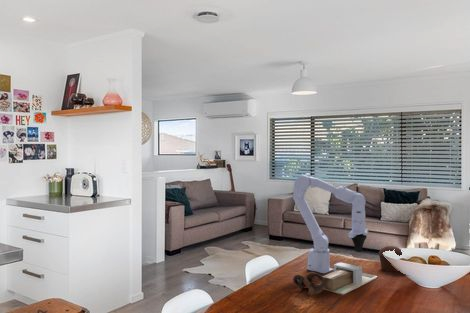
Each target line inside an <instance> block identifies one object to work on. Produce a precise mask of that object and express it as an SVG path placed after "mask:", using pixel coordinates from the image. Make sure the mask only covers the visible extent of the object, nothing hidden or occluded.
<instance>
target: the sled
mask: <svg viewBox="0 0 470 313" xmlns="http://www.w3.org/2000/svg"><path fill="white" fill-rule="evenodd" d="M321 276H322V277H323V279H324V284H325V286H324V289H327V290H326V291H328V290H331V291H330V292H332V291H334V290H336V289H338V288H340V287H343V286H345V285H347V284H349V283H351V282H353V271H351V270H347V269H339V270H337V271H335V272H334V271H331V272H330V273H327V274H325V275H321ZM324 289H323V290H324Z"/></svg>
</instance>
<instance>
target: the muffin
mask: <svg viewBox="0 0 470 313" xmlns="http://www.w3.org/2000/svg"><path fill="white" fill-rule="evenodd" d="M394 249H395V250H394ZM389 250H390V251H393V250H394V251H395V253H396V254H397V255H399V256H400V255H402V252H401V250H402V249H401V248H400V247H398V246H394V245H393V246H390V245H389V246H384V247H382V248H381V249H380V250H379V252H378V256H379V260H380V268H381V269H382V270H384V271H386V270H388V271H387V272H391V271H397V270H396V269H395V268H394V267H393V266H392V265H391V263H390V262H389V261H388V260H387V259H386V258H385V257H384V256H383V254H382V253H383V252H385V251H389Z"/></svg>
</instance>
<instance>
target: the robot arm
mask: <svg viewBox="0 0 470 313" xmlns="http://www.w3.org/2000/svg"><path fill="white" fill-rule="evenodd" d="M309 187H310V189H312V188H313V189H314V188H319V189H322V190H324V191H326V192H329V193H331V194H333V195H334V197H335V198H336V199H338V200H341V201H343V202H345V203H348V204H352V207H351V230H350V232H347V233H348V235H347V236H348V238H350V239H351V241H352V243H353V246H354V249H355V252H357V253H362V251H363V247H364V243H365V241H366V239H367V235H366V234H369V228H366V210H365V209H366V206H365V205H366V204H367V203H366V202H367V201H366V198H365V196H364V195H363V194H362V193H360V192H357V191H356V190H352V189H349V188H347V186H345V185H343V186H342V185H339V186H335V185H333V184H331V183H328V182H327V181H324V180H322V179H319V178H317V177H315V176H309V175H307V174H301V175H299V176H298V177H297V178H296V180H295V181H294V183H293V193H292V199H293V201H294V203H295V205H296V207H297V209H298V210H299V212H300V215H301V216H302V219H303V220H304V223H305V225H306V227H307V229H308V230H309V232H310V236H311V239H312V241H313V247H314V248H311V249H309V250H308V253H307V267H306V270H308V271H311V272H315V273H321V274H326V273H327V274H328V273H329V272H333V271H334V268H332V267H330V266H331V265H330V260H331V259H330V248H328V247H329V242H330V241H329V240H330V239H329V237H328V236H327V235H326V234H325V233H324V231H323V230H322V229H321V227H320V226H319V223H318V222H317V220H316V217H315V215H314V214H313V211H312V210H311V208H310V206H309V203H308V202H307V199H306V198H305V195H306V192H307V190H308V189H309Z"/></svg>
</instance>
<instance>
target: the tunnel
mask: <svg viewBox="0 0 470 313" xmlns="http://www.w3.org/2000/svg"><path fill="white" fill-rule="evenodd" d="M333 269H334V270H333V272H335V271H337V270H339V269H347V270H351V271H353V282H351V283H349V284H347V285H345V286H343V287H340V288H338V289H336V290H334V291H331V290H327V289H323V290H325V291H329V292H332V293H336V294H339V295H342V296H344V295H346V294H347V293H350V292H352V291H353V290H356V289H358V288H360V287H362V286H363V285H366V284H368V283H370V282H372V281H373V280H375V279H377V277H378V276H377V275H374V274H370V273H365V272H363V267H362V266H358V265H355V264H349V263H345V262H337V263H335V264H333ZM378 278H379V277H378Z"/></svg>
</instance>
